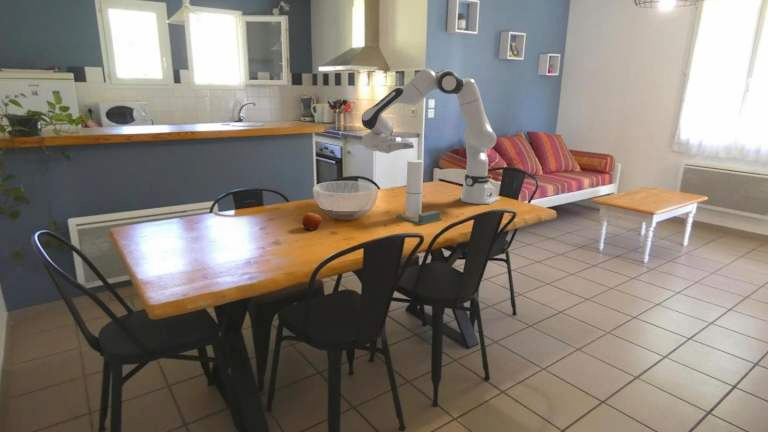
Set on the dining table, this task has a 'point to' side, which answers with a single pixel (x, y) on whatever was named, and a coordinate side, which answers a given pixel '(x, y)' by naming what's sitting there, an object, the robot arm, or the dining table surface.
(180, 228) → the dining table surface
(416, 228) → the dining table surface
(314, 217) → the fruit
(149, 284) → the dining table surface
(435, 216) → the deck plate
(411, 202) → the cylindrical container
